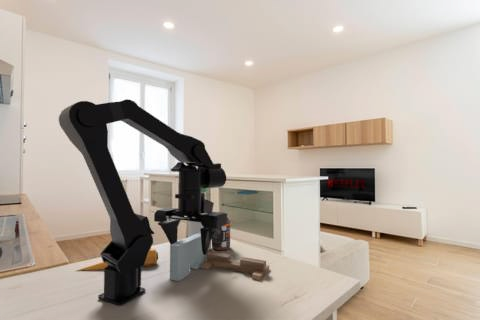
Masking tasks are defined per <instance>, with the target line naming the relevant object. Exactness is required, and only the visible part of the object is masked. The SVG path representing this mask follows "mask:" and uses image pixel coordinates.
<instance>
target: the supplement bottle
mask: <svg viewBox="0 0 480 320" xmlns="http://www.w3.org/2000/svg"><path fill="white" fill-rule="evenodd" d="M219 212H220V213H225V215H226V217H227V224H226V225H224V226H222V227H221V228H219V229H217V230H216V231H215V233H214V235H213V237H212V240H211V248H212V249H213V250H216V251H225V250H226V251H227V250H228V249H230V248H231V221H230V219H229V218H228V212H227V211H219Z"/></svg>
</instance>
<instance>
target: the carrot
mask: <svg viewBox="0 0 480 320" xmlns="http://www.w3.org/2000/svg"><path fill="white" fill-rule="evenodd" d="M158 260H159V252H158V251H157V250H156V248H151V249H150V250H149V252H148V254H147V257H146V260H145V263H144V266H143V267H151V266H155V265H157V262H158ZM107 266H108V264H107V263H104V262H103V261H101V262H98V263H94V264H92V265H89V266H86V267H81V268H79V269H77V270H75V272H81V271H80V270H86V271H100V270H101V271H102V270H104V268H106V267H107Z"/></svg>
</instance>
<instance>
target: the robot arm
mask: <svg viewBox="0 0 480 320" xmlns="http://www.w3.org/2000/svg"><path fill="white" fill-rule="evenodd" d="M58 122H59V127H60V128H61V130H63V132H64V134H65V136H66V137H67V138H68V139H69V141H70V142H71V143H72V145H73V146H74V147H75V148H76V149H77V150H78V151H79V152H80V153H81V155H82V156H83V159H84V161H85V163H86V166H87V168H88V170H89V173H90V175H91V177H92V179H93V182H94V183H95V187H96V189H97V191H98V193H99V195H100V198H101V200H102V203H103V204H104V207H105V209H106V212H107V214H108V217H109V220H110V222H109V223H110V224H109V225H110V226H109V232H110V236H111V241H110V242H109V243H108V244H107V246H105V248H104V249H103V250H101V252H100V253H99V254H100V257H101V259H102V262H104V263H107V264H108V266H107V267H106V268H104V269H103V271H104V272H103V274H104V275H103V292H102V293H100V294H99V295H98V299H99V300H102V301H105V302H108V303H110V304H115V305H118V306H122V305H125V304H126V303H128V302H130V301H131V300H133V299H135V298H136V297H138V296H139V295H142V293H145V292H146V288H145V287H142V268H143V267H145V266H144V263H145V260H146V257H147V254H148V252H149V250H150V249H152V246H153V244H154V238H153V235H155V232H154V231H153V229H152V227H151V224H150V220H149V218H148V216H145V215H142V214H139V213H135V211H134V209H133V206H132V204H131V201H130V200H129V197H128V195H127V192H126V189H125V187H124V185H123V182H122V180H121V176H120V175H119V172H118V169H117V167H116V164H115V163H114V160H113V157H112V155H111V153H110V149H109V142H108V141H109V138H108V137H109V130H108V125H107V124H112V123H116V122H123V123H125V124H127V125H128V126H129V127H131V128H133V129H135V130H136V131H138V132H140V133H141V134H144V135H145V136H146V137H148V138H149V139H151V140H153V141H155V142H157V143H158V144H160V145H161V146H164V148H166V150H168V152H169V154H170V155H171V156H172V157H173V158H175V159H176V160H177V161H178V162H176V164H175V165H174V166H173V167H172V168H171V169H170V171H171V172H173V173H178V193H176V194H175V195H174V198H175V199H178V200H177V201H178V204H177V205H178V208H175V207H165V208H160V209H157V210H156V211H155V212H154V215H153V217H154V218H153V221H154V222H156V223H157V225H158V226H160V227H161V229H162V231H163V232H164V235H165V236H166V238H167V240H168V242H169V244H170V245H171V244H173V243H176V242H178V230H179V229H178V227H179V226H180V225H179V224H180V223H181V221H186V222H187V221H194V222H201V224H202V226H203V228H201V229H200V232H201V244H202V252H203V255H205V254H206V255H207V253H208V252H209V251H208V248H209V245H210V243H211V244H212V237H213V235H214V233H215V231H216V230H217V229H219V228H221V227H222V226H224V225H226V224H227V218H228V216H227V217H226V215H225V213H220V212H221V211H213V208H214V206H215V205H214V204H215V202H213V201H212V200H211V201H210V200H209V199H207V198H206V199H207V200H206V199H205V195H204V193H201V187H202V188H207V189H213V188H222V187H224V185H225V184H226V182H227V175H226V172H225V170H224V169H223V168H222V163H219V162H218V163H217V162H213V160H212V159H211V156H210V155H209V153H208V151H207V149H206V145H205V143H204V142H203V141H202V140H200V139H198V138H195V137H194V136H190V135H187V134H183V133H180V132H178V131H176V130H175V129H174V128H172V127H171V126H169V125H167V124H166V123H165V122H163V121H162V120H160V119H159V118H158V117H156V116H154V115H152V114H151V113H149V112H148V111H146V110H145V109H143V108H142V107H140V106H139V105H138V103H137V102H136V101H133V100H131V99H128V98H126V99H123V100H121V101H112V102H111V101H110V102H104V103H98V104H96V103H94V102H92V101H88V100H82V101H78V102H75V103H73V104H71V105H69V106H67V107H66V108H64V109H62V110H61V112H60V114H59V116H58ZM201 213H207V214H204V215H201ZM192 217H195V218H192Z"/></svg>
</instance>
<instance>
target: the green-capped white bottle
mask: <svg viewBox="0 0 480 320" xmlns="http://www.w3.org/2000/svg"><path fill="white" fill-rule="evenodd" d="M207 189H208V188H202V187H201V193H204V195H205V199H206V200H208V199H207ZM204 214H207V213H201V215H204ZM192 218H195V217H192ZM185 227H186V232H185V233H186V234H185V237H186V238H188V237H190V236H192V235H195V234H197V233H201V232H200V229H201V228H203V226H202V224H201V222H194V221H186V226H185ZM211 248H212V242H211V243H210V245H209V248H208V251H207V252H210V250H211Z"/></svg>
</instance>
